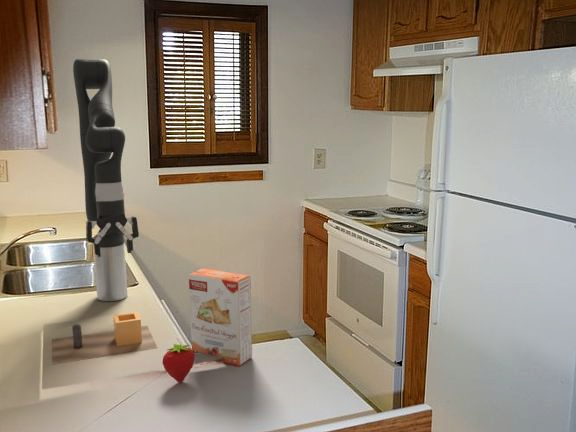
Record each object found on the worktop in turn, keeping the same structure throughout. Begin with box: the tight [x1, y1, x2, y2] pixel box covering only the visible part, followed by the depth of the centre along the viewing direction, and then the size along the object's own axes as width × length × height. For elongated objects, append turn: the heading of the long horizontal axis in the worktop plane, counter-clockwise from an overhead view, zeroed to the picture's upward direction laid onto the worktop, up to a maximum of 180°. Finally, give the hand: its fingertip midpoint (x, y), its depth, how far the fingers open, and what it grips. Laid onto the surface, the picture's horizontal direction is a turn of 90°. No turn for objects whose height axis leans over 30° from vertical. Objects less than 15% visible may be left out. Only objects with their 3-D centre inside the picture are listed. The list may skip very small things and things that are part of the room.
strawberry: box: [162, 339, 196, 383], centre depth 130 cm, size 6×8×10 cm
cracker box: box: [188, 267, 253, 367], centre depth 141 cm, size 14×6×21 cm, turn 62°
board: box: [51, 323, 158, 365], centre depth 148 cm, size 16×24×8 cm, turn 112°
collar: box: [112, 311, 142, 346], centre depth 150 cm, size 6×6×6 cm
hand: (114, 254), depth 170 cm, fingers open, 8 cm apart
